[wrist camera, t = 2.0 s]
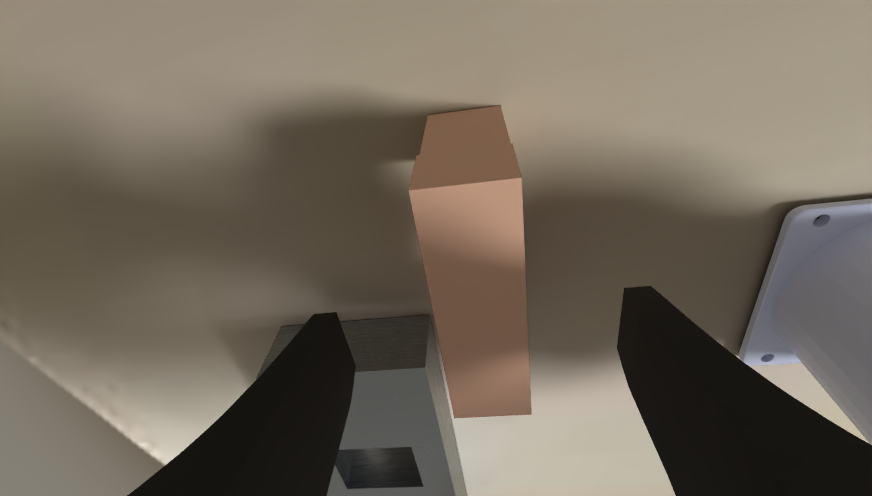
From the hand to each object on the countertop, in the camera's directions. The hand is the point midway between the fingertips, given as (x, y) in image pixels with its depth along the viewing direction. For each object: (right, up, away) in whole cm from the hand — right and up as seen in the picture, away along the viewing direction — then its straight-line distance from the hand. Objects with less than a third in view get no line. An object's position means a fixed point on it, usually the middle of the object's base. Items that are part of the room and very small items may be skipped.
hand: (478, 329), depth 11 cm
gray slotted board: (-3, -9, +14) cm, 17 cm away
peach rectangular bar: (0, +4, +5) cm, 6 cm away
